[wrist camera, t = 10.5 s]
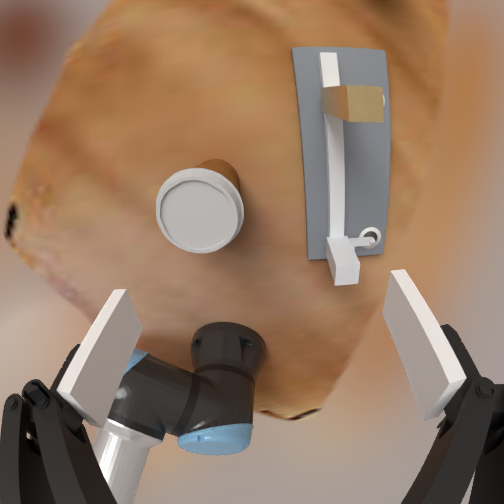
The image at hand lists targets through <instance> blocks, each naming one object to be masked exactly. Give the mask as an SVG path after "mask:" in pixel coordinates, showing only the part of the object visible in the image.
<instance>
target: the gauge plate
mask: <svg viewBox="0 0 504 504" xmlns="http://www.w3.org/2000/svg"><path fill="white" fill-rule="evenodd" d="M291 52H292V59H293V67H294V75H295V84H296V92H297V102H298V111H299V122H300V133H301V145H302V158H303V172H304V188H305V207H306V231H307V256H308V260H313V259H326V258H327V260H328V263H329V266H330V270H331V273H332V277H333V280H334V284H335V286H338V285H349V284H358V279H359V270H360V262H359V260H358V258H357V256H363V255H375V254H383V249H384V241H385V232H386V223H387V212H388V199H389V183H390V152H391V131H390V100H389V85H388V73H387V63H386V54H385V51H384V50H375V49H363V48H347V47H292V49H291ZM344 85H355V86H376V87H382V88H383V104H384V123H378V122H348V121H345V120H343V119H340V118H338V117H335V116H332V115H329V114H327V113H324V112H322V103H321V92H320V88H323V87H332V86H344Z"/></svg>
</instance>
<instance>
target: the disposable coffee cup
mask: <svg viewBox="0 0 504 504" xmlns="http://www.w3.org/2000/svg"><path fill="white" fill-rule="evenodd" d="M156 216H157V221H158V224H159V227H160V229H161V231H162V232H163V234H164V235H165V237H166V238H167V239H168V240H169V241H170V242H171V243H172V244H174V245H175V246H177V247H178V248H180V249H183V250H185V251H188V252H193V253H209V252H213V251H216V250H218V249H220V248H222V247H224V246H225V245H227V244H228V243H230V242H231V241H232V240H233V239H234V238H235V237H236V235H237V234H238V233H239V231H240V229H241V227H242V223H243V219H244V206H243V202H242V199H241V196H240V194H239V181H238V175H237V173H236V171H235V169H234V168H233V167H232V166H231V165H230V164H229V163H227V162H225V161H223V160H218V159H213V160H208V161H205V162H204V163H202V164H200V165H198V166H196V167H194V168H189V169H185V170H182V171H179V172H177V173H175V174H173V175H172V176H171V177H170V178H168V179H167V180H166V181H165V183H164V184H163V185H162V187H161V188H160V190H159V193H158V196H157V200H156Z"/></svg>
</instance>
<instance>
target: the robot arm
mask: <svg viewBox="0 0 504 504" xmlns="http://www.w3.org/2000/svg"><path fill="white" fill-rule="evenodd" d="M382 315H383V317H384V319H385V322H386V324H387V326H388V329H389V331H390V333H391V336H392V338H393V341H394V343H395V346H396V348H397V350H398V353H399V356H400V358H401V361H402V364H403V366H404V369H405V372H406V374H407V377H408V380H409V382H410V385H411V388H412V391H413V394H414V397H415V400H416V402H417V406H418V409H419V412H420V415H421V418H422V421H425V420H429V419H432V418H435V417H438V416H439V415H440V413H441V412H442V411H443V410H444V411H445V414H446V416H445V417H444V419H443V420H442V421H441V422H440V423H439V425H438V426H437V428H439V427H440V426H441V427H440V430H439V432H438V434H437V437H436V439H435V441H434V443H433V446H432V448H431V450H430V452H429V454H428V456H427V458H426V460H425V462H424V464H423V466H422V468H421V470H420V472H419V474H418V476H417V477H416V479H415V481H414V483H413V485H412V486H411V488H410V490H409V491H408V493H407V495H406V496H405V498H404V499H403V501H402V503H401V504H460V503H461V502H462V499H463V497H464V495H465V493H466V491H467V488H468V486H469V484H470V481H471V479H472V477H473V474H474V472H475V476H474V481H473V486H472V491H471V495H470V500H469V504H504V384H494V383H493V382H492V381H491V380H490V379H488V378H486V377H481V375H480V374H479V372H478V370H477V368H476V366H475V364H474V362H473V361H472V359H471V357H470V355H469V353H468V351H467V349H465V346H464V344H463V342H461V339H460V337H459V335H458V334H457V332H456V331H455V330H454V329H453V328H452V327H451V326H450V325H448V324H446V325H442V326H439V324H438V322H437V321H436V319H435V317H434V315H433V314H432V312H431V310H430V309H429V307H428V305H427V304H426V302H425V300H424V299H423V297H422V296H421V294H420V292H419V291H418V289H417V288H416V286H415V285H414V283H413V282H412V280H411V278H410V277H409V275H408V274H407V273H406V271H405V269H403V270H394V271H391V272H390V278H389V283H388V289H387V294H386V298H385V303H384V308H383V312H382ZM142 330H143V326H142V324H141V322H140V320H139V318H138V315H137V313H136V311H135V309H134V306H133V304H132V302H131V299H130V297H129V295H128V292H127V290H126V289H118V290H114V291H113V292H112V294H111V296H110V297H109V299H108V300H107V302H106V303H105V305H104V307H103V308H102V310H101V311H100V313H99V315H98V316H97V318H96V320H95V321H94V323H93V325H92V326H91V328H90V330H89V331H88V333H87V335H86V336H85V338H84V340H83V342H82V343H81V344H77V345H76V346H75V347H74V348H73V349H72V350H71V351H70V353H69V355H68V357H67V358H66V361H65V362H64V364H63V367H62V368H61V369H60V371H59V373H58V375H57V377H56V378H55V380H54V382H53V384H52V386H51V388H50V390H49V389H48V388H47V387H46V386H45V385H44V384H43V383H42V382H41V381H40V380H38V379H34V380H31V381H29V382H28V383H27V384H26V385H25V386H24V388H23V390H22V397H23V398H24V399H25V400H24V399H23V398H22V397H21V396H20V395H19V394H12V395H10V396H9V397H8V398H7V400H6V402H5V405H4V410H3V418H2V427H1V438H0V504H133V501H134V498H135V495H136V492H137V488H138V485H139V481H140V479H141V475H142V472H143V469H144V466H145V462H146V459H147V456H148V453H149V450H150V448H151V447H153V446H155V445H157V444H160V443H162V441H163V438H164V435H165V433H168V434H171V435H175V436H177V437H178V439H177V442H178V445H179V446H180V448H182V449H185V450H186V451H189V452H192V453H197V454H203V455H229V454H235V453H238V452H241V451H243V450H245V449H246V448H247V447H248V446H249V444H250V440H251V433H252V429H253V425H252V424H253V407H254V388H255V380H256V378H257V376H258V374H259V372H260V369H261V367H262V365H263V363H264V360H265V351H266V347H265V343H264V341H263V339H262V338H261V337H260V336H259V335H258V334H257V333H256V332H255V331H253V330H251V329H250V328H248V327H245V326H243V325H239V324H235V323H229V322H218V323H211V324H208V325H205V326H203V327H201V328H200V329H198V330H197V331H196V333H195V334H194V336H193V339H192V343H191V357H192V364H193V371H194V372H193V373H191V372H189V371H186V370H184V369H182V368H179V367H177V366H175V365H172V364H170V363H168V362H166V361H163V360H161V359H159V358H157V357H155V356H153V355H151V354H150V353H149V352H144V351H142V350H139V349H137V348H135V346H136V344H137V341H138V339H139V337H140V334H141V332H142ZM83 419H85V420H86V421H87V422H88V423H89V424H90V425H93V426H96V427H99V428H98V430H97V433H96V436H95V439H94V442H93V445H92V446H91V444H90V441H89V438H88V435H87V432H86V429H85V427H84V425H83V424H82V421H83ZM27 433H29V434H30V439H28V438H27V437H26V434H27ZM475 469H476V470H475Z"/></svg>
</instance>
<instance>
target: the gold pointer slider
mask: <svg viewBox="0 0 504 504" xmlns="http://www.w3.org/2000/svg"><path fill="white" fill-rule="evenodd" d="M320 92H321V103H322V112H324V113H327V114H329V115H332V116H335V117H338V118H340V119H343V120H345V121H348V122H378V123H384V104H383V88H382V87H376V86H355V85H344V86H332V87H323V88H320Z"/></svg>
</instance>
